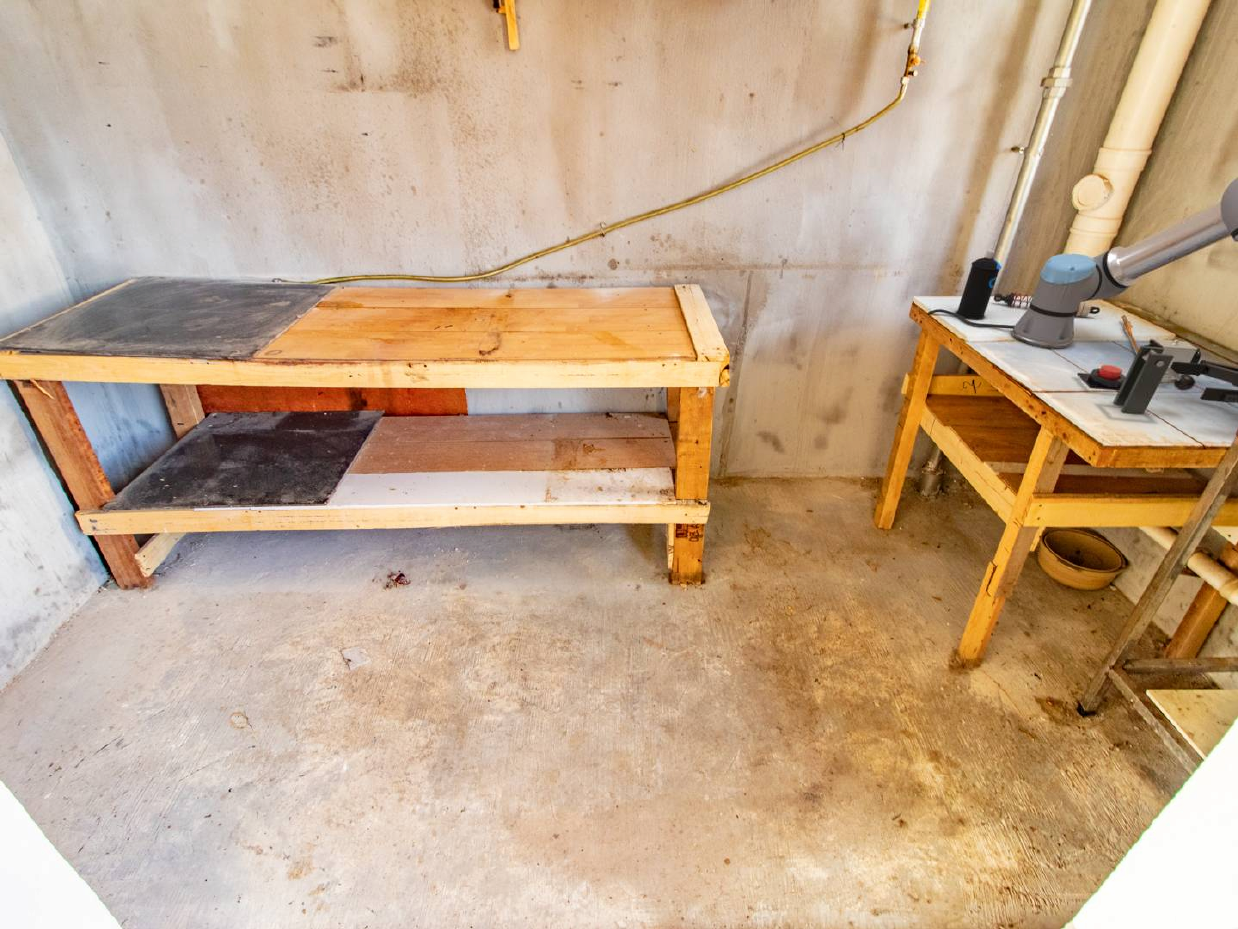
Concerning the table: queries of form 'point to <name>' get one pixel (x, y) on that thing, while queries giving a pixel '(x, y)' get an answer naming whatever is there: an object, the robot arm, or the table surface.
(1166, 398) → the table surface
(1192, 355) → the pneumatic valve
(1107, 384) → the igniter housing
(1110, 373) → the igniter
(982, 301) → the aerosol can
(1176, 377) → the lever
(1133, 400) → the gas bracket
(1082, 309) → the shock absorber
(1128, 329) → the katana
